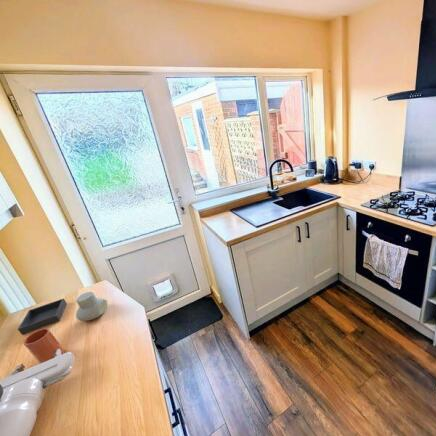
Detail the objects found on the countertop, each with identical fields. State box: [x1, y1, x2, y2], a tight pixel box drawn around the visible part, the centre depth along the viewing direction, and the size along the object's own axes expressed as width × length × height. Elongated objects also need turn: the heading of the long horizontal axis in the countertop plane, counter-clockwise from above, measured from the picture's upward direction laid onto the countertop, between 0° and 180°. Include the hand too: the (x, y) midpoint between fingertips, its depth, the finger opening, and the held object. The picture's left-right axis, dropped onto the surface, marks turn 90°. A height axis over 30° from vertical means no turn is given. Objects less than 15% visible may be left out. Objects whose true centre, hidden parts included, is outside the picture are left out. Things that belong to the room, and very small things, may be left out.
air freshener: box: [75, 291, 108, 322], centre depth 102 cm, size 11×8×10 cm
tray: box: [17, 298, 68, 336], centre depth 105 cm, size 12×12×3 cm
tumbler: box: [22, 327, 66, 364], centre depth 84 cm, size 6×6×11 cm
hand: (39, 358), depth 80 cm, fingers open, 8 cm apart
